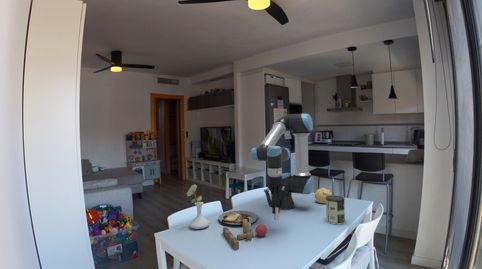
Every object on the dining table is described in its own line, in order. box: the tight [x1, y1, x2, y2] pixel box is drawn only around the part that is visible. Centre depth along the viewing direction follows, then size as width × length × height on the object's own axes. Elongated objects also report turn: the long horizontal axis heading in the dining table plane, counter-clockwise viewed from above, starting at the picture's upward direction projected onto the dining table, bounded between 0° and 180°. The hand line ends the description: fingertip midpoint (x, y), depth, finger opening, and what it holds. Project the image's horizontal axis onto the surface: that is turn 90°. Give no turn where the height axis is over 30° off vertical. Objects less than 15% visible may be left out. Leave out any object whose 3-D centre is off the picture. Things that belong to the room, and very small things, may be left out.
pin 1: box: [242, 219, 247, 234], centre depth 132 cm, size 2×2×8 cm
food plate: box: [217, 210, 260, 226], centre depth 155 cm, size 25×23×4 cm
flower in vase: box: [186, 184, 211, 230], centre depth 145 cm, size 13×11×25 cm
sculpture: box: [314, 187, 333, 205], centre depth 186 cm, size 12×12×11 cm
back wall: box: [222, 226, 240, 251], centre depth 126 cm, size 20×2×4 cm, turn 20°
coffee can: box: [325, 194, 346, 225], centre depth 149 cm, size 10×10×14 cm
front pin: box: [236, 231, 255, 241], centre depth 129 cm, size 2×2×8 cm
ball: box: [254, 223, 268, 237], centre depth 131 cm, size 6×6×6 cm
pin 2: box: [246, 221, 252, 242], centre depth 127 cm, size 2×2×8 cm
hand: (276, 219), depth 135 cm, fingers closed
